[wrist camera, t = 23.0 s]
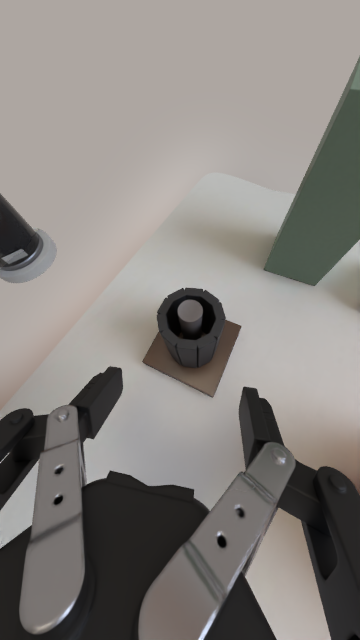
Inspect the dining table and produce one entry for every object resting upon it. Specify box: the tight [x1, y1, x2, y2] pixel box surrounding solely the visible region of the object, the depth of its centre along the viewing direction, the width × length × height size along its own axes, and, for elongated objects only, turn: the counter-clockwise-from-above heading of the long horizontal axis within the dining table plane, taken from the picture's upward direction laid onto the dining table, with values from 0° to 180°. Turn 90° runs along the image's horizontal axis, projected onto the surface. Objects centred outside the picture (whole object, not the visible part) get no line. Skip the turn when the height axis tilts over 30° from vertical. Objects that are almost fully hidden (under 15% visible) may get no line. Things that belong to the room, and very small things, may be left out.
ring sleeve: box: [157, 288, 226, 368], centre depth 21 cm, size 6×6×8 cm
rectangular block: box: [264, 57, 360, 286], centre depth 21 cm, size 7×7×18 cm
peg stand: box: [142, 300, 241, 397], centre depth 21 cm, size 9×9×10 cm
